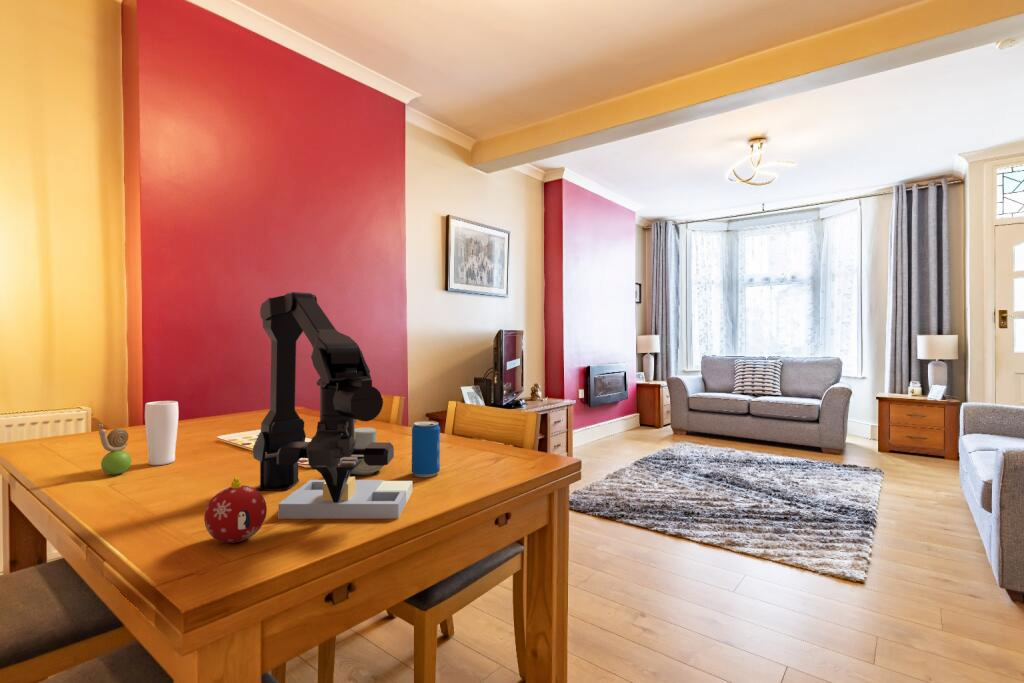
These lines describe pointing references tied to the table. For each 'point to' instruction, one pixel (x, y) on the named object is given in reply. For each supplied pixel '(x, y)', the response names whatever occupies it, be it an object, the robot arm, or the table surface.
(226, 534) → the christmas ornament
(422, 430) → the beverage can
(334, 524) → the table surface
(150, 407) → the drinking glass
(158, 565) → the table surface
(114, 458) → the snail figurine
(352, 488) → the ochre block
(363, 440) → the air freshener
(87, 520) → the table surface
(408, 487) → the trap board
